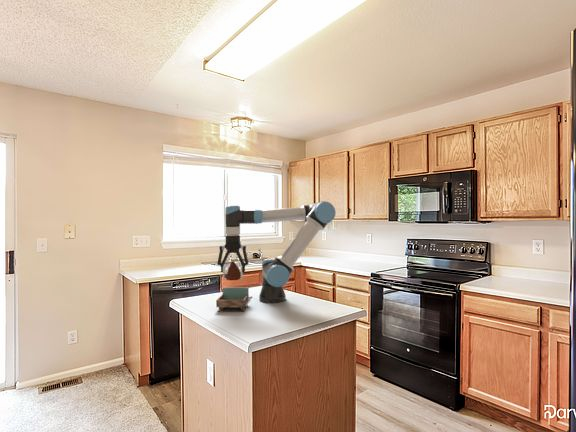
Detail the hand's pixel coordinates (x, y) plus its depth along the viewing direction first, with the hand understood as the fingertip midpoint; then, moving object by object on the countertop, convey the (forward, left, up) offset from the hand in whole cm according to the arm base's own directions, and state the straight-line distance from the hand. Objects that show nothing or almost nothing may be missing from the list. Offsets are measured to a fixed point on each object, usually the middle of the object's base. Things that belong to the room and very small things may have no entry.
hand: (233, 278), depth 172 cm
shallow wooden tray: (0, +1, -15) cm, 15 cm away
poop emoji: (0, 0, -1) cm, 1 cm away
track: (0, -8, -15) cm, 17 cm away
